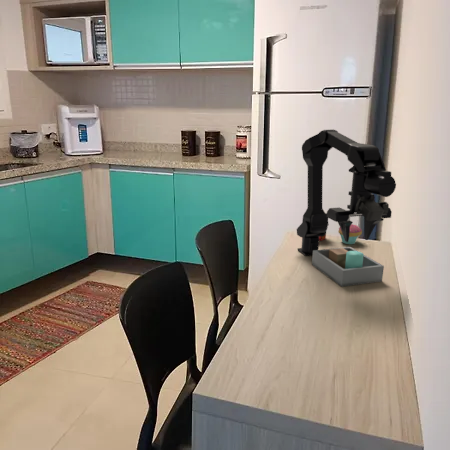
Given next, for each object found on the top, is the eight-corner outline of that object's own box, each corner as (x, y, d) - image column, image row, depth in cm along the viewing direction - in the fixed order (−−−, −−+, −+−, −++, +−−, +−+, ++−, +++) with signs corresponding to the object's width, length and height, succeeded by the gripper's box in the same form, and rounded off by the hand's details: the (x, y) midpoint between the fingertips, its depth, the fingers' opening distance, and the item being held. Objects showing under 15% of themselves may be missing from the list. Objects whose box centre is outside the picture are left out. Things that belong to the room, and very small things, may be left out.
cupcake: (332, 240, 171) (335, 210, 168) (350, 237, 175) (353, 208, 171) (347, 247, 164) (350, 215, 160) (365, 244, 167) (368, 213, 164)
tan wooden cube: (336, 269, 141) (337, 254, 139) (328, 263, 145) (329, 249, 144) (349, 267, 142) (351, 253, 141) (341, 262, 147) (342, 248, 145)
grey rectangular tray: (311, 264, 146) (312, 250, 145) (348, 260, 151) (350, 246, 149) (341, 286, 130) (343, 270, 129) (382, 281, 134) (383, 265, 133)
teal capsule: (350, 279, 133) (352, 257, 131) (341, 273, 138) (343, 251, 136) (364, 277, 135) (367, 255, 133) (354, 271, 139) (357, 250, 138)
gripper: (349, 197, 119) (344, 252, 123) (407, 193, 124) (400, 246, 129) (327, 189, 129) (323, 240, 133) (382, 186, 134) (376, 235, 139)
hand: (356, 240), depth 133 cm, fingers open, 6 cm apart
